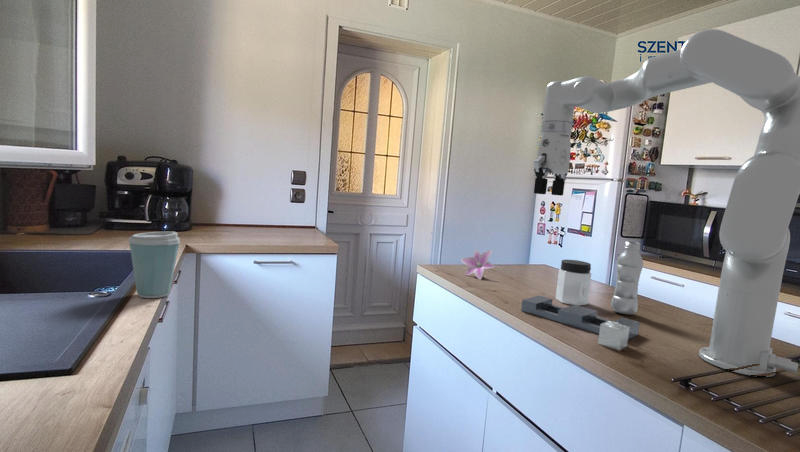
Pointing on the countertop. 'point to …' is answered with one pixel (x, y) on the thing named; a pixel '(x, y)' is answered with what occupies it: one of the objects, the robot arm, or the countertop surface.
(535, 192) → the robot arm
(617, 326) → the nut
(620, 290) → the plastic bottle
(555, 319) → the rail
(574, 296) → the jar
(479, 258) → the lily
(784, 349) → the countertop surface
